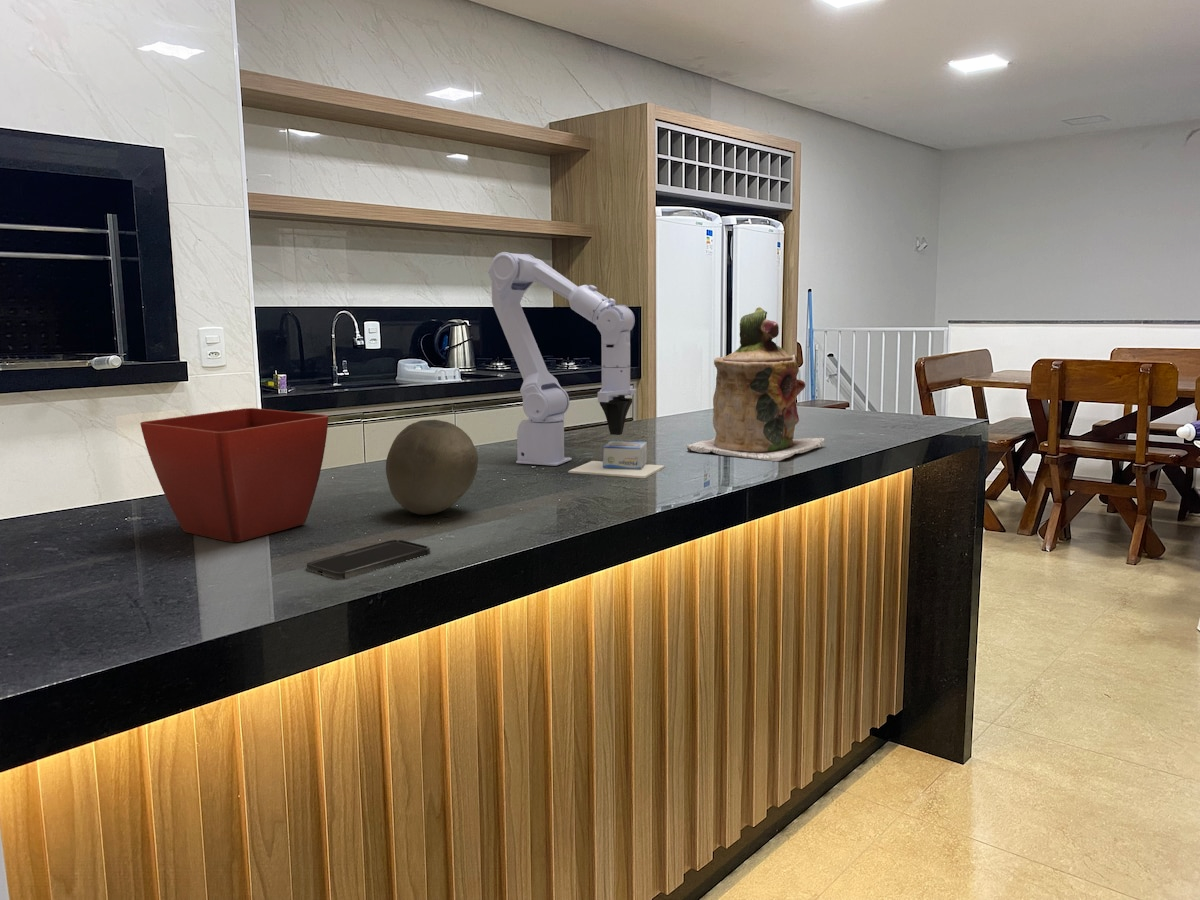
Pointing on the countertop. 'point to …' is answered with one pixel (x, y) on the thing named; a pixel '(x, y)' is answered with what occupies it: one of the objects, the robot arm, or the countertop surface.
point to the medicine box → (625, 454)
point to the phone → (367, 559)
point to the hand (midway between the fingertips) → (616, 434)
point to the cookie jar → (756, 397)
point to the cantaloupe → (430, 466)
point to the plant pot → (238, 469)
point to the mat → (616, 470)
